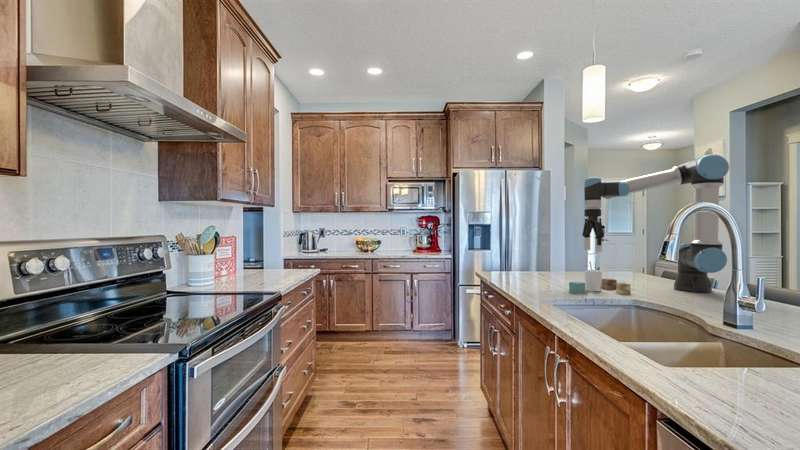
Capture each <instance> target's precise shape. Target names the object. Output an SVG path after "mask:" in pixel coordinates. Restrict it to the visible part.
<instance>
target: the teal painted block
mask: <svg viewBox="0 0 800 450" xmlns="http://www.w3.org/2000/svg"><path fill="white" fill-rule="evenodd" d="M568 285H569V288H568V289H569V290H568V292H569V293H571V292H572V293H571V294H576V293H581V294H586V284H585V282H581V281H570V282H569V283H568Z"/></svg>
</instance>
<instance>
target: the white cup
mask: <svg viewBox="0 0 800 450" xmlns="http://www.w3.org/2000/svg"><path fill="white" fill-rule="evenodd" d="M602 279H603V270H599V269H585V270H584V283H585V291H587V292H593V291H599V292H601V291H602V288H601V285H602Z"/></svg>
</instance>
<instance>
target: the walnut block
mask: <svg viewBox="0 0 800 450" xmlns="http://www.w3.org/2000/svg"><path fill="white" fill-rule="evenodd" d="M616 282H618V280H617V279H614V278H602V285H601V289H603V288H604V289H603V290H606V289H607V291H611V290H613V291H614V290H615V291H617V286H616Z"/></svg>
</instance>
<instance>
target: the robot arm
mask: <svg viewBox="0 0 800 450" xmlns="http://www.w3.org/2000/svg"><path fill="white" fill-rule="evenodd" d="M729 169H730V165H729V162H728V160H727V159H726V158H724V157H723V156H722V155H719V154H715V153H714V154H713V153H712V154H706V155H703V156H700V157H697V158H695V159H691V160H690V161H687V162H685V163H682V164H680V165H679V164H678V165H675V166H673V167H672V168H671V169H667V170H662V171H658V172H654V173H650V174H646V175H641V176H637V177H632V178H627V179H625V180H624V179H623V180H619V181H618V180H617V181H616V180H615V181H602V178H601V177H587V178H585V180H584V187H583V189H584V195H583V196H584V199H583V200H584V202H583V204H584V212H583V213H584V215H583V216H584V217H586V218H584V225H583V231H582V237H583V238H584V240H583V241H584V244H583V247H584V248H583V249H584V250H583V251H591V234H592V230H593V233H594V236H595V237H594V239H595V242H594V243H595V244H594V245H595V247H594V248H595V249H594V250H595V253H602V252H603V244H602V243H603V240H602V239H604V238H605V232H604V228H603V224H602V218H601V216H602V209H601V208H602V198H603V199H606V200H609V199H612V198H616V197H617V198H618V197H621V198H622V197H628V195H631V194H635V193H640V192H644V191H648V190H653V189H658V188H661V187H667V186H671V185H677V186H681V185H686V184H691V186H692V187H693V188H694V189H695V191H694V193H695V198H694V199H695V200H694V201H695V202H694V204H695V203H696V202H711V203H715V204H717V205H720V203H719V202H720V187H722V186H723V185H724V181H725V180H724V177H725V176H726V175H727V174H728V172H729ZM679 245H680V249H679V260H678V259H677V276H676V277H675V280H674V282H673V289H674V290H677V291H684V292H689V293H712V292H713V286H712V283H711V282H710V279H709V277H708V274H709V273H710V274H713V273H714V274H715V273H718V272H720V271H721V270H723V269H724V268H725V267H726V265H727V262H728V257H727V254H726V253H725V252H724V251H723V243H722V242H721V241H720V240H719V218H718V217H717V216H716V215H715V214H713V213H711V212H698V213H695V212H694V239H693V240H692V241H691V242H690V243H680V244H679Z"/></svg>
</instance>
